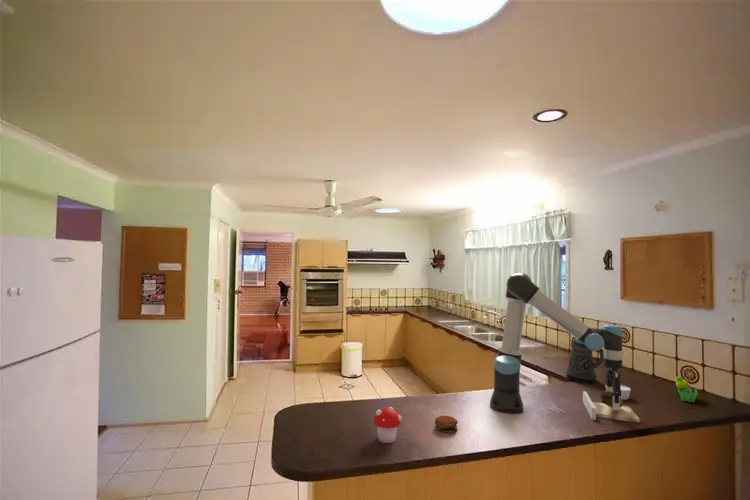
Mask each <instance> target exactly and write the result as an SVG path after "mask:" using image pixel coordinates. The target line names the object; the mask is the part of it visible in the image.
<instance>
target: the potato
mask: <svg viewBox="0 0 750 500" xmlns="http://www.w3.org/2000/svg"><path fill="white" fill-rule="evenodd" d="M612 394H613V392H611V391H606V390H604V391H601V393H600V400H601V403H603V404H606V405H607V406H610V407H612V408H613V395H612ZM623 401H624V400H622V399H621V398H620V408H621V407H622V406H624V402H623Z"/></svg>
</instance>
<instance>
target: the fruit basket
mask: <svg viewBox="0 0 750 500" xmlns="http://www.w3.org/2000/svg"><path fill="white" fill-rule="evenodd" d="M675 377H676V378H675V379H674V380H675V386H676V388H677V391H678V393H679V397H680V400H681V402H682V401H683V402H686V401H688V403H692V402H694V403H695V402H696V398H697V396H698V390H697V388H695V387H690V386H689V385H690V383H689V381H687V380H685V379H684V378H683V377H682V376H675Z"/></svg>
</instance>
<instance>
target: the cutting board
mask: <svg viewBox="0 0 750 500" xmlns="http://www.w3.org/2000/svg"><path fill="white" fill-rule="evenodd" d="M592 403H593V405H594V406H595V408H596V418H603V419H609V420H617V421H624V422H633V423H640V421H641V420H640V417H639V416H638V415H637V413H635V412H634V411H633V409H632V408H631V407H630V406H628V405H623V406H622V407H621V408H620V411H619V410H613V408H612V407H610V406H607V405H606V404H603V403H602V402H596V401H592Z"/></svg>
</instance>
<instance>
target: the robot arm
mask: <svg viewBox="0 0 750 500" xmlns="http://www.w3.org/2000/svg"><path fill="white" fill-rule="evenodd" d="M505 292H506V293H505V298H506V301H507V305H506V306H507V307H506V312H505V313H506V315H505V320H504V327H503V334H502V335H503V336H502V342H501V347H499V348H498V350H497V355H496V357H495V358H494V362H493V368H494V369H493V391H492V394H491V397H490V400H489V401H490V402H489V406H490V408H491V409H493V410H494V411H497V412H500V413H506V414H520V413H522V412H523V411H524V403H523V402H524V401H523V399H522V396H521V393H520V389H521V387H520V386H521V385H520V384H521V383H520V379H521V378H520V375H521V374H520V373H521V372H520V371H521V366H522V365H521V364H522V357H523V356H522V355H523V353H522V352H521V350H520V347H521V339H522V333H523V327H524V319H525V312H526V305H531V306H533V307H534V308H535V309H536V310H538V311H539V312H541V313H542V314H543V315H545V316H546V317H547V318H549V319H550V320H551V321H552V322H553V323H555V324H557V325H558V326H559V327H561V328H562V329H563V330H564V331H566V332H567V333H569V334H570V335H571V336H573V338H575V340H576V342H577V343H582V344H584V345H586V347H587V348H589V349H590V350H593V351H592V352H597V351H598V350H601V349H603V352H604V360H603V366H604V367H606V370H605V371H606V372H605V373H606V374H605V379H604V380H605V382H604V383H605V385H606V386H607V387H605V389H606V390H605V391H611V392H613V394H612V395H613V410H619V411H620V396H621V387H620V385H621V374H620V373H619V372H618V370H620V369H623V360H622V359H623V355H624V352H623V338H624V336H623V328H622V326H620V325H617V324H616V325H615V324H604V325H603V328H596V327H595V328H594V327H590V326H588V325H587V324H585V322H582V321H581V320H580V319H579V318H577V317H576V316H574V315H573V314H572V313H571V312H569V311H568V310H566V309H565V308H564V307H562V306H561V305H559V304H558V303H557V302H555V301H554V300H553V299H551V297H549V296H547V295H546V294H545V293H543V292H542V291H541V288H540V287H539V286H538V285H536V284H535V283H534V282H533V281H532V279H531V278H530V276H529V275H527V274H526V273H523V272H515V273H513V274H511V275H510V276H509V278H508V279H507V281H506V291H505ZM616 392H618V393H616Z"/></svg>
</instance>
